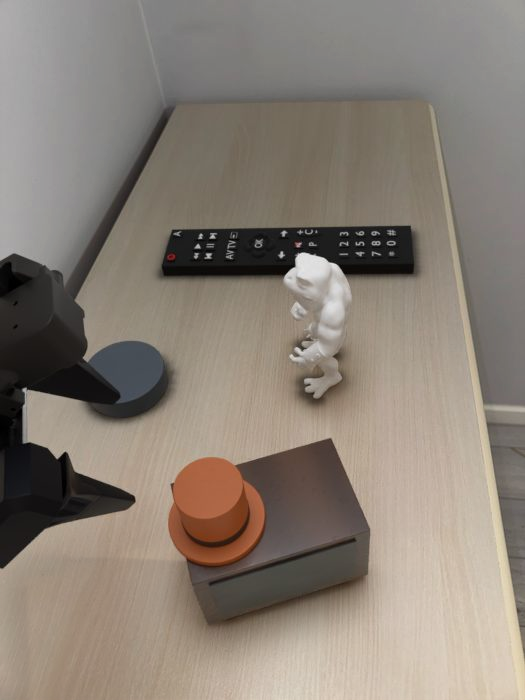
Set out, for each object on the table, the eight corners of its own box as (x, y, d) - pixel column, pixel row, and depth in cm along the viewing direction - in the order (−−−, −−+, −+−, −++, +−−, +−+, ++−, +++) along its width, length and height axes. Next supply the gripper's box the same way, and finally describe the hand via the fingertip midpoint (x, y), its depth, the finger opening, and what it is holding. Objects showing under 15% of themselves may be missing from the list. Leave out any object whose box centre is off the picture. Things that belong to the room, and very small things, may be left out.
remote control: (172, 238, 92) (169, 226, 91) (409, 234, 88) (410, 222, 87) (161, 275, 87) (158, 263, 86) (413, 273, 83) (414, 261, 82)
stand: (92, 427, 72) (85, 412, 70) (84, 367, 78) (78, 352, 76) (174, 404, 73) (170, 390, 71) (160, 347, 79) (156, 332, 77)
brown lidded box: (210, 632, 56) (191, 587, 49) (188, 534, 62) (170, 483, 56) (368, 582, 58) (371, 532, 51) (332, 492, 64) (331, 437, 57)
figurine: (356, 405, 70) (358, 301, 59) (293, 409, 71) (282, 306, 60) (347, 331, 78) (347, 225, 67) (290, 334, 78) (280, 230, 67)
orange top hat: (178, 579, 50) (165, 548, 46) (162, 493, 55) (148, 459, 51) (277, 549, 51) (271, 516, 47) (251, 467, 56) (244, 432, 52)
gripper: (-43, 395, 27) (232, 494, 37) (-23, 170, 40) (177, 287, 50) (-169, 541, 31) (109, 596, 41) (-113, 294, 44) (88, 380, 54)
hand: (124, 447), depth 46 cm, fingers open, 9 cm apart
